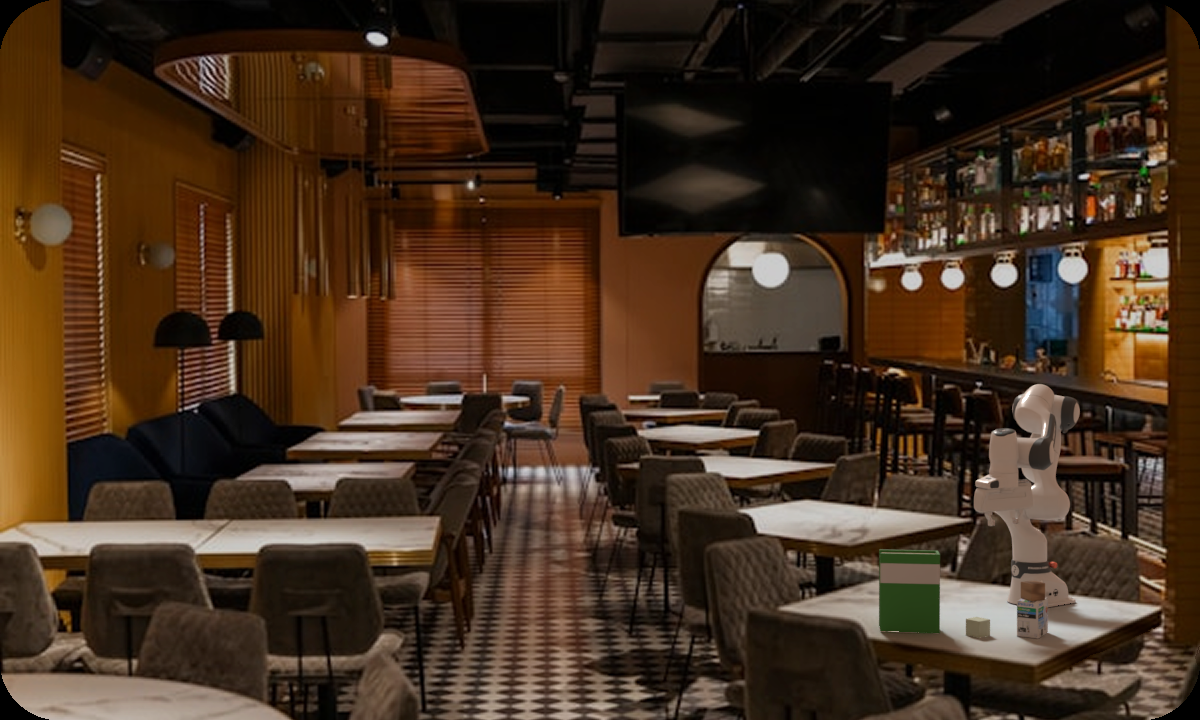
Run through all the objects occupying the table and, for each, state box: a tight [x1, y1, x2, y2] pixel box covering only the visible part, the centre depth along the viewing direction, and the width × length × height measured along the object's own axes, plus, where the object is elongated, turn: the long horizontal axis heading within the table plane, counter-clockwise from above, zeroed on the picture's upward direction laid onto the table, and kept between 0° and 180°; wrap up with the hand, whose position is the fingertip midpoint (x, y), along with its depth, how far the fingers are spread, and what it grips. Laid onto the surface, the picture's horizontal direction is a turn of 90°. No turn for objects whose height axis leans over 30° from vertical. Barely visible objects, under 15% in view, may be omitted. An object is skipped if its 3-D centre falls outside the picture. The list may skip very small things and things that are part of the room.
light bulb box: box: [1016, 598, 1049, 640], centre depth 441 cm, size 11×7×11 cm, turn 148°
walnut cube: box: [1021, 581, 1045, 601], centre depth 441 cm, size 5×5×5 cm
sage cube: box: [965, 616, 991, 639], centre depth 440 cm, size 5×5×5 cm
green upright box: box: [878, 548, 941, 634], centre depth 447 cm, size 18×7×24 cm, turn 82°
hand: (1003, 524), depth 460 cm, fingers open, 8 cm apart
